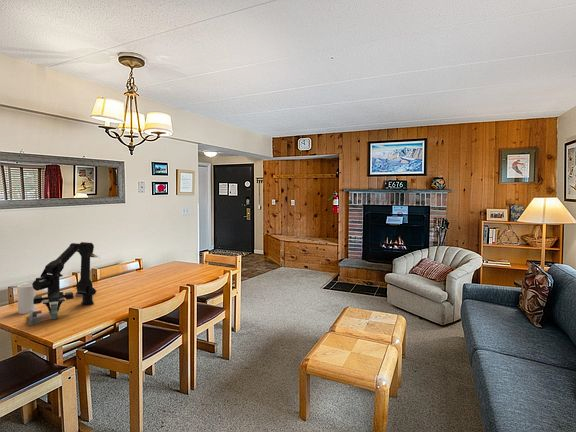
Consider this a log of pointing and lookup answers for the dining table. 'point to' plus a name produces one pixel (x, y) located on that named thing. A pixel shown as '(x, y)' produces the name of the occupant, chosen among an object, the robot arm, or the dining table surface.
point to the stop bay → (34, 320)
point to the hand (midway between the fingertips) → (54, 312)
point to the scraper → (54, 310)
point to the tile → (44, 316)
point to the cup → (25, 298)
